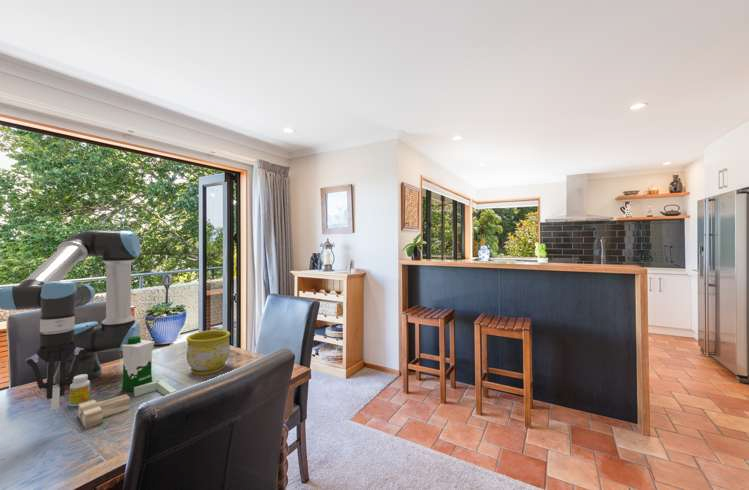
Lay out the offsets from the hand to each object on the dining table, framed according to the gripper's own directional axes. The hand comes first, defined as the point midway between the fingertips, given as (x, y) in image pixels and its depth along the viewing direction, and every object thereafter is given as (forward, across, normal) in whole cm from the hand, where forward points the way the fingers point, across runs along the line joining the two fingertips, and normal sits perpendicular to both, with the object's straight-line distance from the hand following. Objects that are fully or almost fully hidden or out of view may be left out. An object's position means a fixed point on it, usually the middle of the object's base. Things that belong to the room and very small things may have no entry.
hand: (55, 407), depth 94 cm
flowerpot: (+7, +51, +12) cm, 53 cm away
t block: (+7, +12, 0) cm, 14 cm away
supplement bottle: (+7, +8, +17) cm, 21 cm away
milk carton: (+7, +25, +16) cm, 31 cm away
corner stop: (+7, +27, +1) cm, 28 cm away
